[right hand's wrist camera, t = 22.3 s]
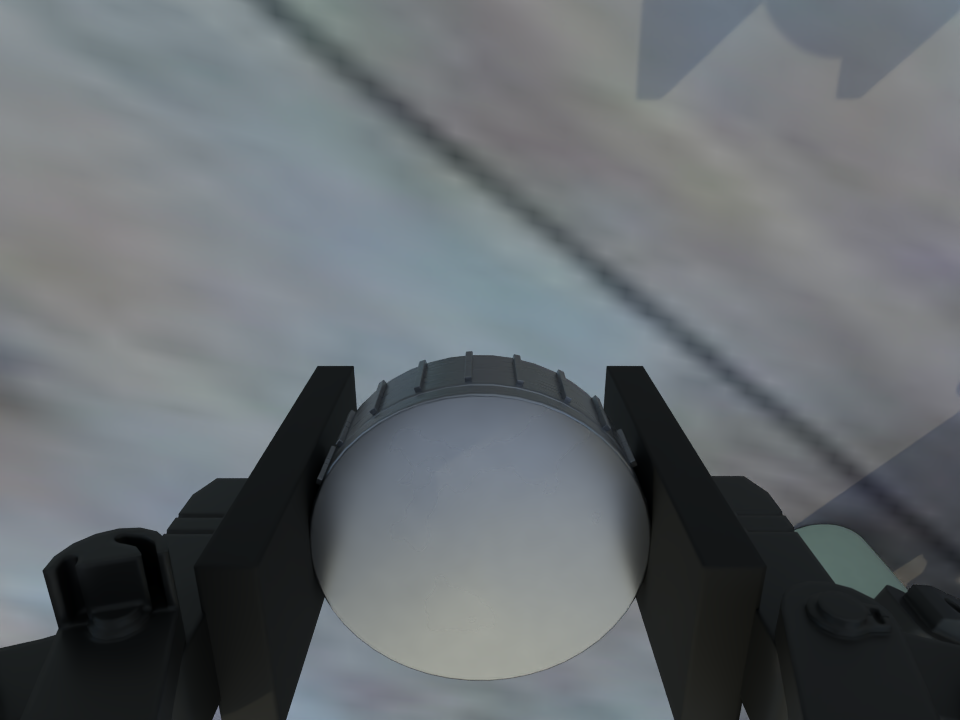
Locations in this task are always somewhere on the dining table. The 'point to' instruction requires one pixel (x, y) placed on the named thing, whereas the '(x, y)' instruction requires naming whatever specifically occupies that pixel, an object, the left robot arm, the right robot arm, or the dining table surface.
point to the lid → (480, 520)
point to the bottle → (848, 559)
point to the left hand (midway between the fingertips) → (837, 676)
